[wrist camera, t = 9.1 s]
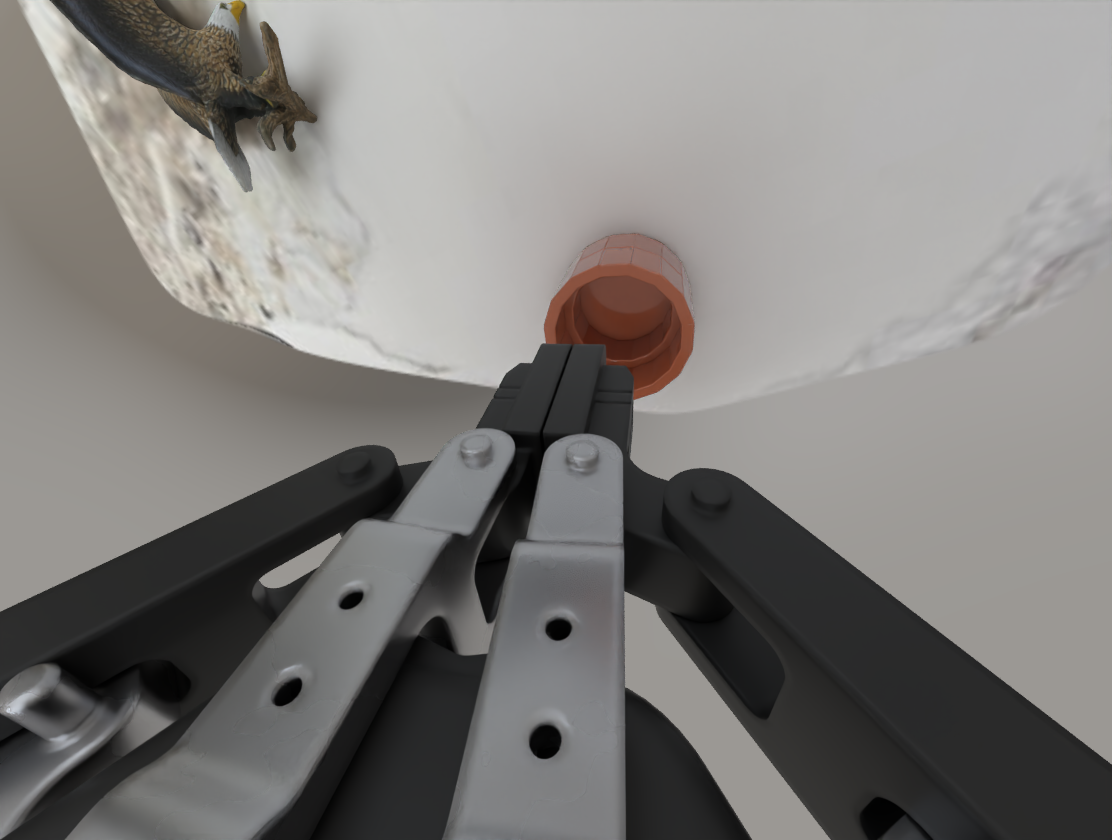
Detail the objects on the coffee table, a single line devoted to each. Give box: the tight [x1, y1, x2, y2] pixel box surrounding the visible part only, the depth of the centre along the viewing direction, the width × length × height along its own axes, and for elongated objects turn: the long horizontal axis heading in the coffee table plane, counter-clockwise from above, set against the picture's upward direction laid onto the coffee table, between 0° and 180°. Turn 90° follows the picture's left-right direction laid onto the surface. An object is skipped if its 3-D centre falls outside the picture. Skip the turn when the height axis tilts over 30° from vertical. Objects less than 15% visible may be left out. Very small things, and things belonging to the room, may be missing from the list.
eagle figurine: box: [50, 0, 317, 192], centre depth 18 cm, size 8×7×9 cm
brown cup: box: [544, 234, 695, 400], centre depth 21 cm, size 6×6×5 cm
